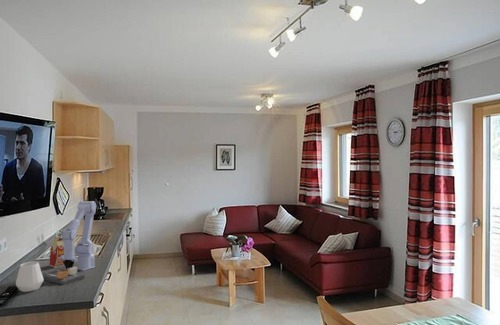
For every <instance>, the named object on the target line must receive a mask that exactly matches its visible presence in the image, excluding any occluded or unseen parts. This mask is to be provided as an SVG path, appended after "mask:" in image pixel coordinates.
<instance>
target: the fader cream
mask: <svg viewBox="0 0 500 325" xmlns="http://www.w3.org/2000/svg"><path fill="white" fill-rule="evenodd" d="M77 268H78V266H73V267H71V268H67V271H68V275H72V274H75V273H78V270H77Z"/></svg>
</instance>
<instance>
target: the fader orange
mask: <svg viewBox="0 0 500 325" xmlns="http://www.w3.org/2000/svg"><path fill="white" fill-rule="evenodd" d="M65 277H68V271H67V270H66V269H63V271H59V272H57V278H59V279H62V278H65Z"/></svg>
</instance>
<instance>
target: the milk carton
mask: <svg viewBox="0 0 500 325" xmlns="http://www.w3.org/2000/svg"><path fill="white" fill-rule="evenodd" d="M61 236H62V235H61ZM61 236H57V237H53V240H52V242H51V245H50V252H49V253H50V254H49V262H48V264H49V265H48V266H49V267H53V268H54V269H58V268H60V267H65V265H64V263H63V261H65V260H62V259H61V257H60V256H61V255H64V243H63V240H62V238H61Z"/></svg>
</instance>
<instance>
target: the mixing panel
mask: <svg viewBox="0 0 500 325" xmlns="http://www.w3.org/2000/svg"><path fill="white" fill-rule="evenodd" d="M63 270H64V269H62V268H60V267H57V268H54V269H52V270H48V271H44V272H42V275H43V279H44V280H46V281H49V282H53V283H56V284H60V285H63V286H65V285H68V284H71V283H75V282H77V281H80V280H82V279H85V274H81V273H78V272H77V273H75V274H72V275H68V277H65V278H62V279H59V278H57V272H59V271H63Z"/></svg>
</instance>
